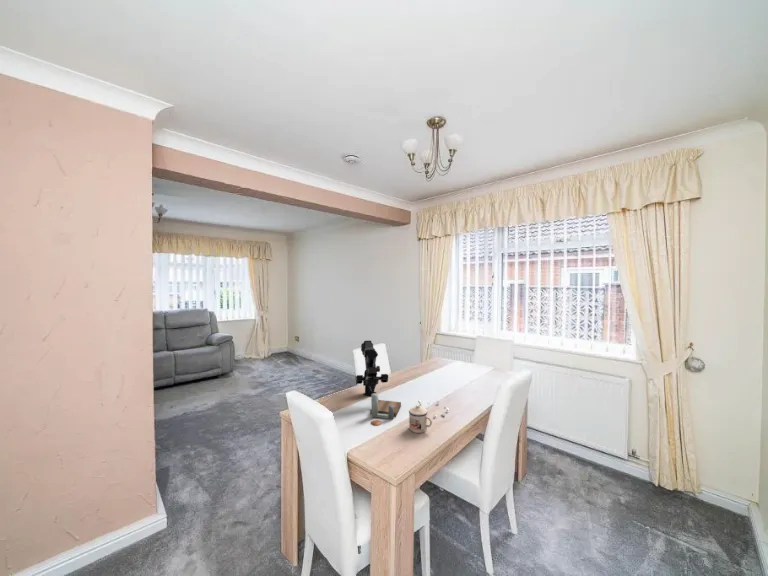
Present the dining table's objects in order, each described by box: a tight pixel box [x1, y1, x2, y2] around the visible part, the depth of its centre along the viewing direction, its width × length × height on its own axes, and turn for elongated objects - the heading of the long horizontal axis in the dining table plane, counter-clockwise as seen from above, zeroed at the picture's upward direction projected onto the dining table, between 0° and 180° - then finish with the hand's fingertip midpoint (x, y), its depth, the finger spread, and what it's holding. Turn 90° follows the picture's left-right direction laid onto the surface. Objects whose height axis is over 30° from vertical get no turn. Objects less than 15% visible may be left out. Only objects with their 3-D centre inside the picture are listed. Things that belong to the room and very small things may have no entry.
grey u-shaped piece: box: [370, 392, 395, 420], centre depth 156 cm, size 12×4×12 cm, turn 75°
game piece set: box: [417, 399, 450, 419], centre depth 165 cm, size 19×20×4 cm
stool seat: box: [370, 399, 402, 426], centre depth 160 cm, size 14×25×2 cm, turn 165°
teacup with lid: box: [408, 404, 433, 434], centre depth 144 cm, size 12×9×12 cm
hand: (373, 392), depth 166 cm, fingers closed
